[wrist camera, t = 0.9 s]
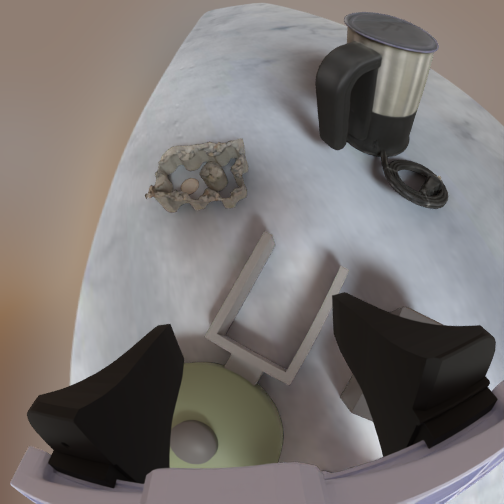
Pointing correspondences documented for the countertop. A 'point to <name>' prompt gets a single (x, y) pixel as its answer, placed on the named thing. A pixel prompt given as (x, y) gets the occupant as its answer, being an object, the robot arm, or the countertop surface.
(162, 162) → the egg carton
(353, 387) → the grey block with ledge
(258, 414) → the green disc with bracket
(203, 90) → the countertop surface
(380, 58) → the milk frother
